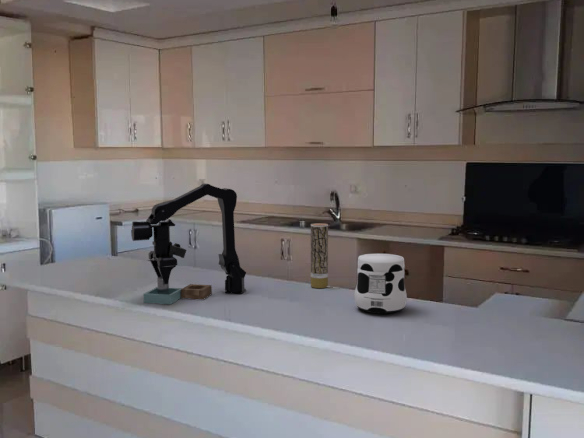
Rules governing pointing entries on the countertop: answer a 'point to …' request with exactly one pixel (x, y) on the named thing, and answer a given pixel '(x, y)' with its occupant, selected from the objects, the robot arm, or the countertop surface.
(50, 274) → the countertop surface
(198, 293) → the block
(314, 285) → the bark textured cylinder
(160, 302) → the tray
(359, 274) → the milk container
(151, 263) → the robot arm
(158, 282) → the translucent grey cylinder
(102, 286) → the countertop surface
